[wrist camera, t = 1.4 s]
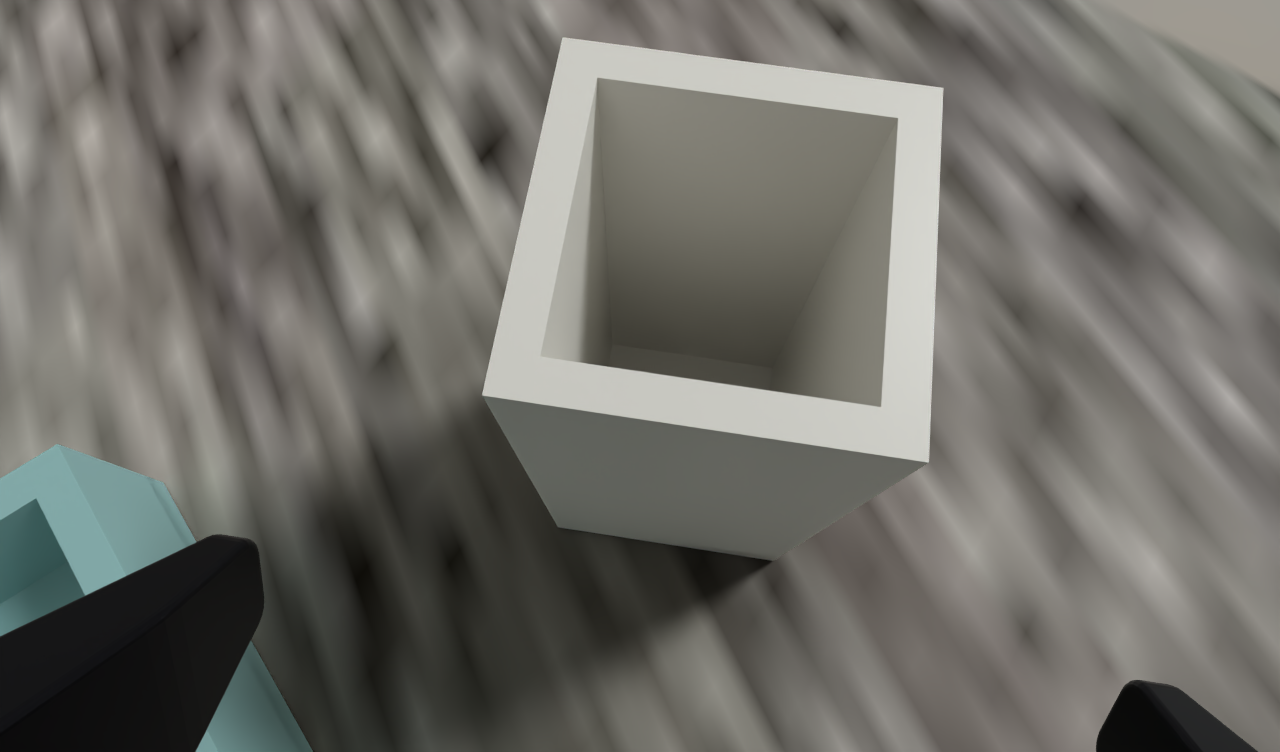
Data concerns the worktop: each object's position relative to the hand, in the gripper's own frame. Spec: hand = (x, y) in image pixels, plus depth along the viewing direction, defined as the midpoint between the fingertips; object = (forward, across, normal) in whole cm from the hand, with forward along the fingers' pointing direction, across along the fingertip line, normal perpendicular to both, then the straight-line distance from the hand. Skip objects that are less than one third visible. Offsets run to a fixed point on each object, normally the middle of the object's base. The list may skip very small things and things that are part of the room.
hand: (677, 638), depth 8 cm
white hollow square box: (+12, 0, +5) cm, 13 cm away
